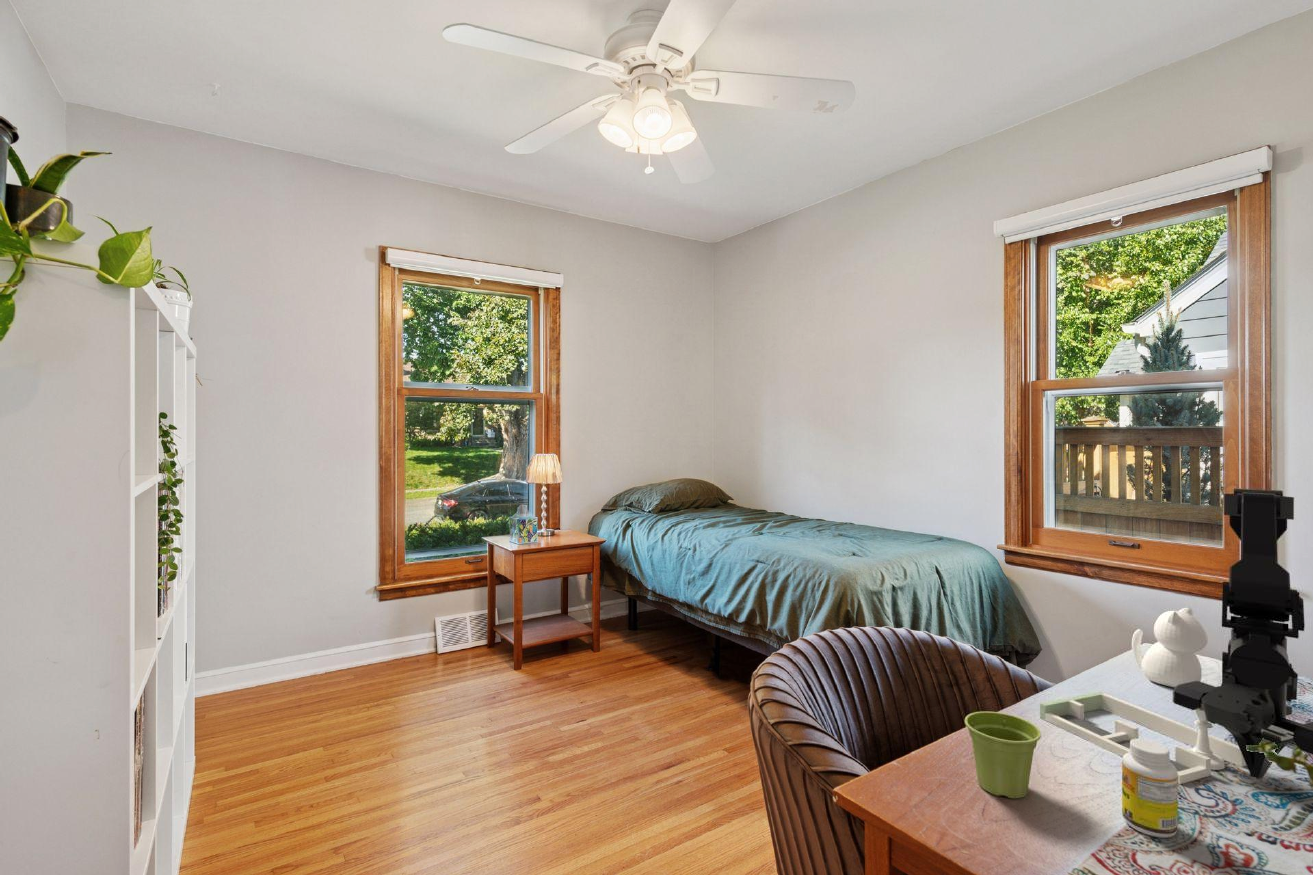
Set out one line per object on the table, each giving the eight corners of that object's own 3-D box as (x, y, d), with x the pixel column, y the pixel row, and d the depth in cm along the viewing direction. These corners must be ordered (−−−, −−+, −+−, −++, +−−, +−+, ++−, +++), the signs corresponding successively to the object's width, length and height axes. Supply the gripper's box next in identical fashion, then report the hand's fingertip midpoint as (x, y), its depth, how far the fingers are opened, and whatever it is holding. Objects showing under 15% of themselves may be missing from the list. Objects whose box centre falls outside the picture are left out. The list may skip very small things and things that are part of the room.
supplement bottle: (1123, 807, 85) (1124, 730, 85) (1177, 824, 81) (1178, 743, 81) (1119, 827, 81) (1120, 746, 81) (1176, 846, 77) (1177, 761, 77)
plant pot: (949, 777, 92) (949, 717, 92) (996, 763, 96) (996, 706, 96) (1008, 813, 84) (1008, 747, 84) (1056, 796, 88) (1057, 733, 87)
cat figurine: (1193, 698, 119) (1195, 618, 118) (1118, 674, 130) (1120, 601, 129) (1216, 689, 123) (1218, 611, 123) (1141, 666, 134) (1143, 595, 134)
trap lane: (1099, 705, 116) (1100, 691, 116) (1246, 765, 95) (1246, 748, 95) (1040, 717, 111) (1040, 703, 111) (1180, 784, 90) (1180, 766, 90)
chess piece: (1233, 771, 94) (1233, 703, 94) (1194, 768, 95) (1194, 700, 95) (1211, 754, 99) (1211, 689, 98) (1174, 751, 100) (1175, 687, 99)
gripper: (1148, 651, 96) (1147, 755, 96) (1309, 702, 79) (1307, 828, 79) (1197, 643, 100) (1196, 742, 100) (1361, 689, 82) (1360, 810, 83)
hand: (1256, 777), depth 90 cm, fingers closed
